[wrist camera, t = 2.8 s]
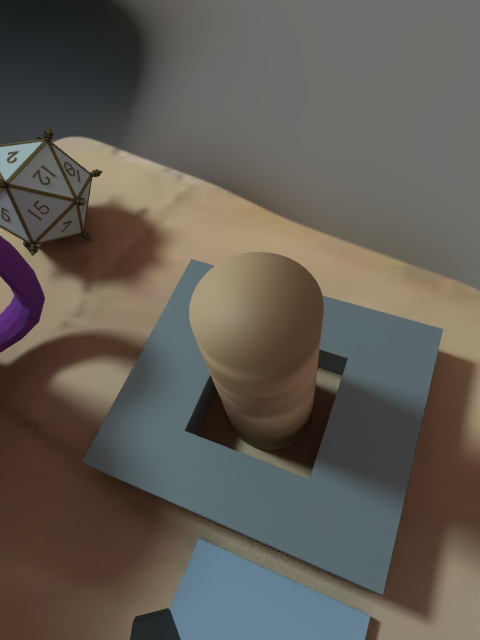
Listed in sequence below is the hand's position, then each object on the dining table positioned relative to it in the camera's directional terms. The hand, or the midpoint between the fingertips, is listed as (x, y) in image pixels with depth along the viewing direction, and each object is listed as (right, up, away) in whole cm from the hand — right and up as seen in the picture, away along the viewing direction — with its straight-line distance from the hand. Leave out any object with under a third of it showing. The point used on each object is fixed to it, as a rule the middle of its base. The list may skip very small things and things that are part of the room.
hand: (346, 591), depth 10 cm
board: (-1, +1, +17) cm, 17 cm away
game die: (-17, +13, +26) cm, 34 cm away
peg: (-1, +1, +17) cm, 17 cm away
